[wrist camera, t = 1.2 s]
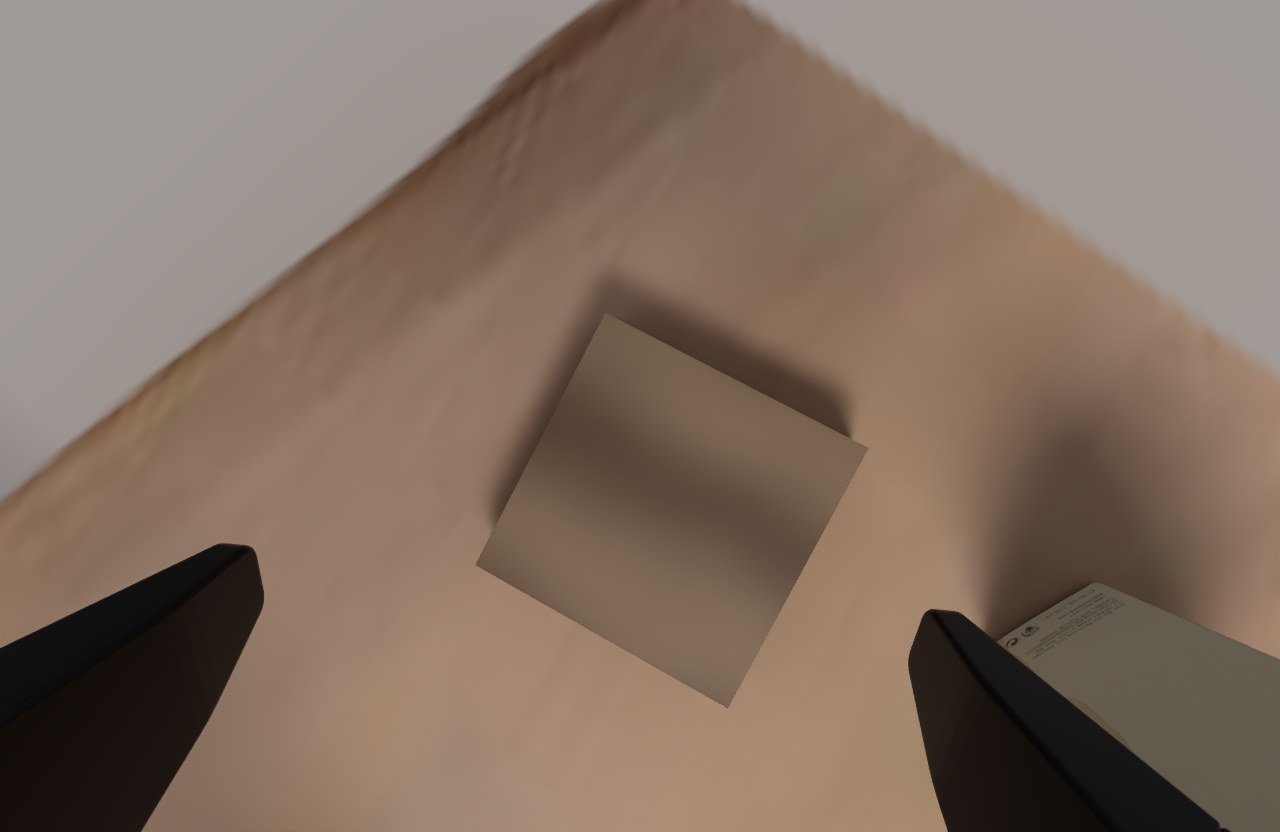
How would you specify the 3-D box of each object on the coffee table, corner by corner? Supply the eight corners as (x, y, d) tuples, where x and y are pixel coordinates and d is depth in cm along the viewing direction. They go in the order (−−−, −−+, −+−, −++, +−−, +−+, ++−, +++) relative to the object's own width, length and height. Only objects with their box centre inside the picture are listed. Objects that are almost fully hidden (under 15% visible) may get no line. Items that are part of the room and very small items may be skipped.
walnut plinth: (726, 677, 24) (727, 708, 21) (499, 550, 25) (475, 565, 22) (852, 444, 23) (868, 448, 21) (616, 323, 24) (605, 312, 22)
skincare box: (979, 645, 23) (1276, 902, 11) (1100, 573, 22) (1549, 757, 10) (1092, 812, 22) (1532, 1274, 10) (1217, 742, 22) (1827, 1137, 10)
